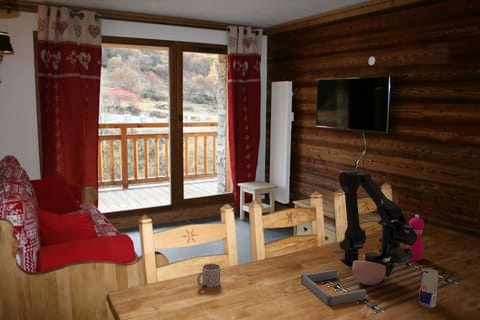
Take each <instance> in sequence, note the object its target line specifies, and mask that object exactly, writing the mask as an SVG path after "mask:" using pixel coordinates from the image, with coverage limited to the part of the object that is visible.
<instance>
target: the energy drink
mask: <svg viewBox="0 0 480 320" xmlns="http://www.w3.org/2000/svg"><path fill="white" fill-rule="evenodd" d="M419 281H420V282H419V293H418V303H419V305H420V306H422V307H424V308H427V309H428V308H429V309H432V308H435V307H436V306H437V296H438V281H439V273H438V271H437V270H436V269H434V268H428V267H426V268H425V267H424V268H421V271H420V280H419Z"/></svg>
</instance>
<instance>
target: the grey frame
mask: <svg viewBox="0 0 480 320" xmlns="http://www.w3.org/2000/svg"><path fill="white" fill-rule="evenodd" d="M300 275H301V276H300V282H301V284H302V285H304V286H305V287H306V288H307V289H308V290H309V291H311V292H312V293H313V294H314V295H315V296H317V297H318V299H320V300H321V301H322V302H324V304H326V305H327V306H334V305H340V304H345V303H350V302H356V301H360V300H365V299H367V290H366V289H365V288H363V289H358V290H353V291H347V292H341V293H335V294H329V293H328V292H327V291H325V290H324V289H323V288H322V287H320V286H319V285H318V284H317V283H316V282H318V281H326V280H332V279H337V278H338V276H337V275H338V270H337V269H330V270H329V269H328V270H322V271H316V272H309V273H303V274H300Z"/></svg>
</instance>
